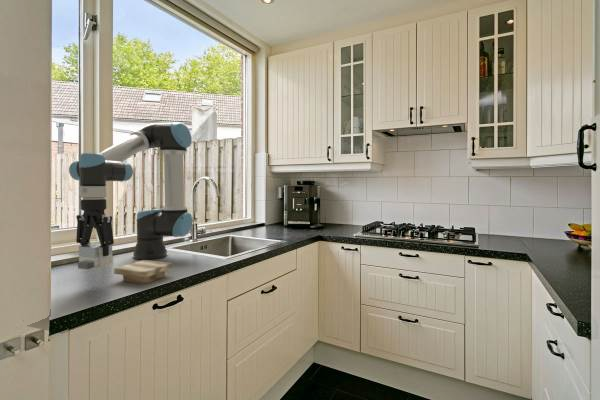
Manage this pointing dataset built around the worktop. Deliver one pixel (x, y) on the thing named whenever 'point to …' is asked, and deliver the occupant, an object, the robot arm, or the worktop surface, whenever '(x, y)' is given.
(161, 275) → the stand
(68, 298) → the worktop surface
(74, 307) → the worktop surface
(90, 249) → the housing
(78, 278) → the worktop surface
